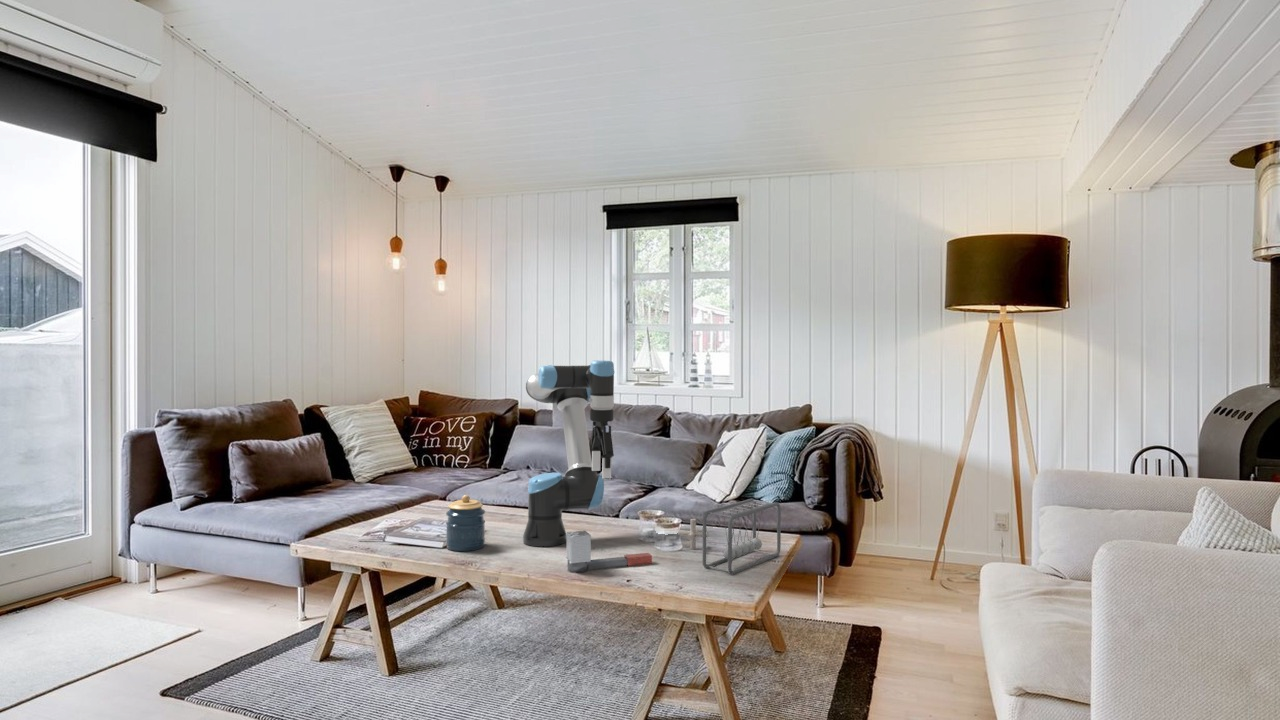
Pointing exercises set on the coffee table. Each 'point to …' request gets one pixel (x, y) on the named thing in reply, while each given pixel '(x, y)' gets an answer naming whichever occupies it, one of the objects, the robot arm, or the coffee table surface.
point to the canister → (465, 525)
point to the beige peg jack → (692, 533)
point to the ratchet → (611, 562)
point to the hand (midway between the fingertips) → (601, 474)
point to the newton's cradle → (742, 547)
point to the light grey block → (578, 547)
